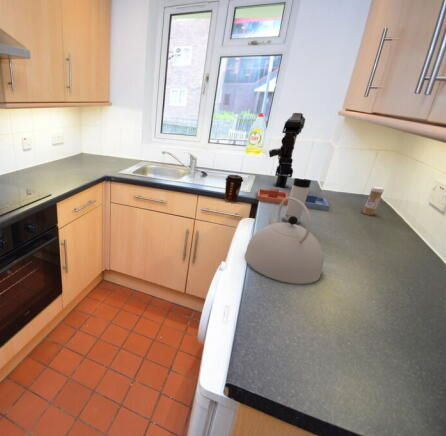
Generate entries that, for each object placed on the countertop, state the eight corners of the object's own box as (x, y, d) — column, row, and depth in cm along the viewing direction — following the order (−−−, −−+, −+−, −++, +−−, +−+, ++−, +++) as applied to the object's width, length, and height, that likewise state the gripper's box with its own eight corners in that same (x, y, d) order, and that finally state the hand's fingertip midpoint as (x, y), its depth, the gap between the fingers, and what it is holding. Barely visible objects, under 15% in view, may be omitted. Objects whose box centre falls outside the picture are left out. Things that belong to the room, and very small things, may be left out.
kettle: (233, 243, 112) (245, 186, 103) (294, 245, 112) (310, 188, 103) (260, 282, 89) (278, 212, 80) (336, 285, 89) (363, 215, 80)
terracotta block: (267, 195, 165) (269, 188, 163) (276, 197, 163) (278, 189, 162) (267, 198, 161) (269, 190, 160) (276, 199, 160) (278, 191, 158)
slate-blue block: (303, 200, 159) (306, 192, 157) (313, 202, 157) (316, 194, 156) (304, 203, 155) (307, 195, 153) (314, 204, 154) (317, 196, 152)
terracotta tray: (257, 192, 171) (258, 188, 170) (286, 197, 166) (287, 192, 165) (256, 200, 159) (257, 195, 158) (287, 204, 154) (288, 200, 153)
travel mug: (284, 222, 132) (296, 179, 124) (282, 217, 137) (293, 175, 130) (300, 225, 130) (313, 180, 122) (297, 219, 135) (310, 177, 128)
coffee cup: (237, 197, 162) (241, 174, 157) (241, 203, 154) (246, 178, 149) (220, 196, 163) (224, 173, 158) (224, 202, 155) (228, 177, 150)
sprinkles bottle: (360, 212, 147) (369, 186, 142) (367, 211, 148) (377, 185, 142) (368, 215, 143) (378, 188, 137) (376, 215, 143) (387, 188, 138)
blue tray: (292, 197, 165) (293, 193, 164) (323, 201, 160) (324, 197, 159) (294, 205, 153) (295, 201, 152) (327, 210, 148) (329, 205, 147)
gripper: (271, 140, 167) (265, 168, 173) (271, 145, 152) (264, 175, 158) (293, 142, 163) (286, 170, 169) (296, 147, 147) (288, 177, 153)
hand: (281, 173), depth 162 cm, fingers open, 9 cm apart
